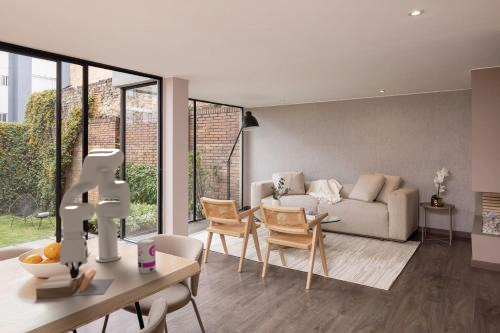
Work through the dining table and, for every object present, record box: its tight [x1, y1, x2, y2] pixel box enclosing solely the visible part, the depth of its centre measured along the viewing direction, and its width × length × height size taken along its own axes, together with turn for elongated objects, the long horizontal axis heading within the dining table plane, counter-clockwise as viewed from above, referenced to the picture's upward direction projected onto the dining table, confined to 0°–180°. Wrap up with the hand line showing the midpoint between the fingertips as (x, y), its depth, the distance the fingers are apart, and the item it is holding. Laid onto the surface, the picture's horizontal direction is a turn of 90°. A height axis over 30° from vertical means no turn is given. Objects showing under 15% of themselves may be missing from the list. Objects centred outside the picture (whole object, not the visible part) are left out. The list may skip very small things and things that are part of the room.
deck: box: [35, 271, 86, 299], centre depth 141 cm, size 16×13×4 cm
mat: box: [71, 278, 115, 297], centre depth 143 cm, size 16×12×1 cm
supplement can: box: [137, 238, 157, 275], centre depth 161 cm, size 8×8×15 cm
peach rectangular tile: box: [78, 269, 97, 292], centre depth 142 cm, size 9×6×2 cm
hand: (74, 277), depth 141 cm, fingers closed
